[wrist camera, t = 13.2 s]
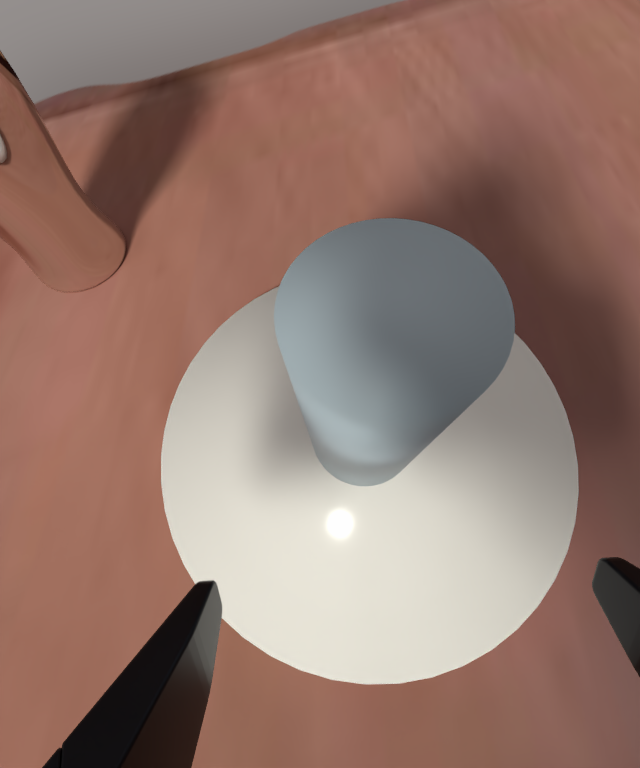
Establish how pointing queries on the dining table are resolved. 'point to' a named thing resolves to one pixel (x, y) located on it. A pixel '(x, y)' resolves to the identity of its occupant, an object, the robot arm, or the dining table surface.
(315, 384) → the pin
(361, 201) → the dining table surface
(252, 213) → the dining table surface
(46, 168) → the beer glass
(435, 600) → the plate
